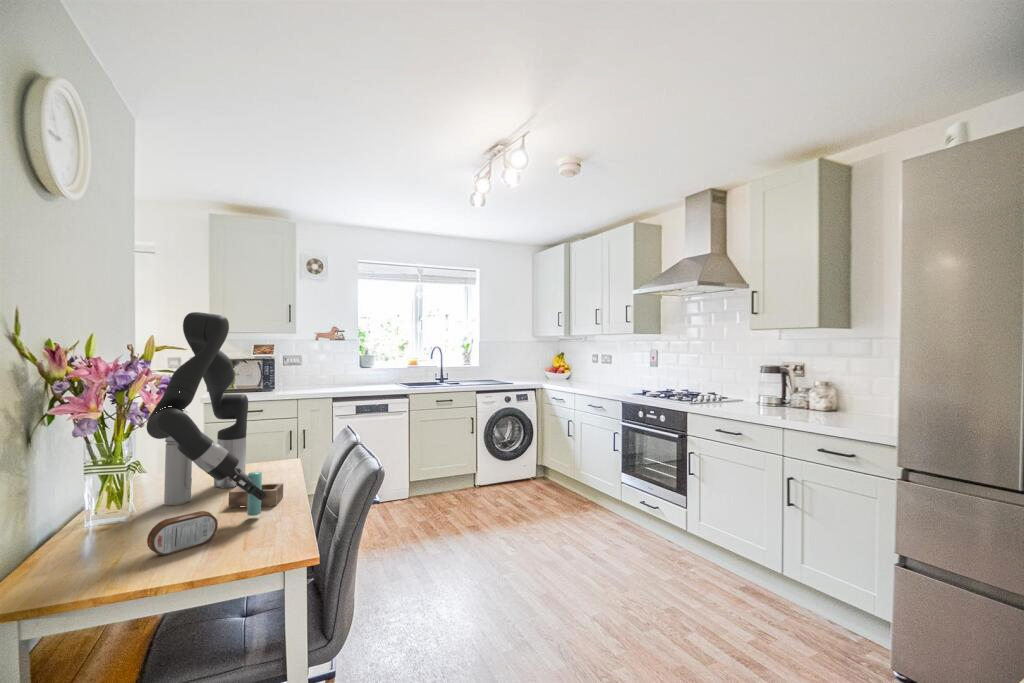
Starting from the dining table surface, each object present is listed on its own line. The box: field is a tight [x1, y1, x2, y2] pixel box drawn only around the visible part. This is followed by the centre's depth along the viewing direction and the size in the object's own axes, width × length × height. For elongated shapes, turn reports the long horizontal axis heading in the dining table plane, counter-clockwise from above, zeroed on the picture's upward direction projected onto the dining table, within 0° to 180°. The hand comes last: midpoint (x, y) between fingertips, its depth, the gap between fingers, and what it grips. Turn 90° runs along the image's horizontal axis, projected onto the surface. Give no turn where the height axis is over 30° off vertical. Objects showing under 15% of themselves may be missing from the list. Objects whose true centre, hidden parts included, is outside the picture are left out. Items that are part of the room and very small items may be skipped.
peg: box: [246, 471, 263, 517], centre depth 142 cm, size 4×4×12 cm
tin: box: [146, 510, 219, 556], centre depth 120 cm, size 15×3×8 cm, turn 145°
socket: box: [228, 482, 284, 508], centre depth 156 cm, size 14×8×5 cm, turn 101°
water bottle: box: [163, 436, 193, 506], centre depth 154 cm, size 9×8×25 cm
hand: (261, 495), depth 143 cm, fingers closed on peg, 3 cm apart
